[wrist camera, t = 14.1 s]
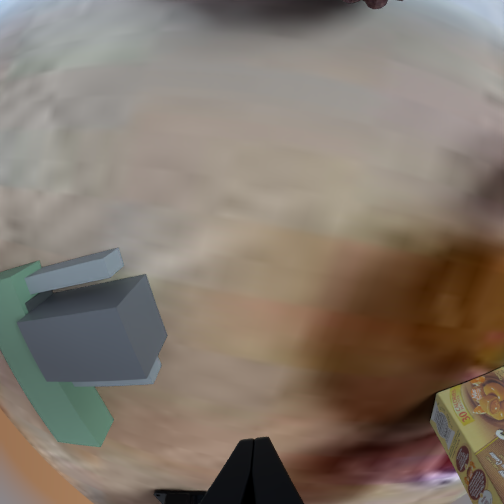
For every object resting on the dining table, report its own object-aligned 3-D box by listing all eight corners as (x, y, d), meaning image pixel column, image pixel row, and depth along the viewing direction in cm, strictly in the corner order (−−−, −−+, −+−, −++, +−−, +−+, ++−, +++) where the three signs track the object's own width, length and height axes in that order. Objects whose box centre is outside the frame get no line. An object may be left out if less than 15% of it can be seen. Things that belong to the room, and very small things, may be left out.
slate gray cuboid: (167, 334, 21) (146, 378, 16) (77, 344, 22) (46, 381, 17) (146, 273, 20) (116, 307, 15) (55, 292, 20) (16, 322, 16)
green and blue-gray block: (186, 418, 23) (178, 449, 20) (72, 417, 24) (58, 441, 21) (115, 239, 19) (90, 255, 16) (0, 272, 20) (-27, 287, 17)
